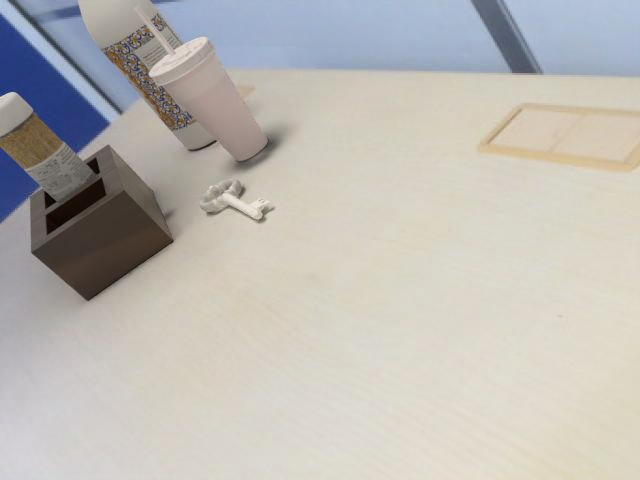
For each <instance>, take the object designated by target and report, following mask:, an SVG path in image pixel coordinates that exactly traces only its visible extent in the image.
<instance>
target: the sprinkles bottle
mask: <svg viewBox="0 0 640 480" xmlns="http://www.w3.org/2000/svg"><path fill="white" fill-rule="evenodd" d="M0 149H2V150H3V152H5V153H6V154H7V155H8V156H9V157H10V158H11V159H12V160H13V161H14V162H15V163H17V165H19V166H20V167H21V169H23V171H24V172H25V173H26V174H27V175H29V177H31V178H32V179H33V180H34V181H35V182H36V184H38V185H39V186H40V187H41V189H42V188H43V189H44V190H45V191H46V192H47V193H48V194H49V195H50V196H51V197H52V198H54V199H55V200H56V201H59V200H60V199H62V198H63V197H65V196H66V195H68V194H69V193H71V192H72V191H74V190H75V189H77V188H78V187H80V186H81V185H83V184H84V183H86V182H87V181H89V180H90V179H92V178H93V177H95V176H96V174H95V173H94V172H93V170H92V169H91V168H90V167H89V166H88V165H87V164H86V163H85V162H84V159H82V158H81V157H80V156H79V155H78V154H77V153H76V151H74V150H73V149H72V148H71V147H70V146H69V145H68V144H67V143H66V142H65V141H63V140H62V139H61V138H60V137H59V136H58V135H57V134H56V133H55V132H54V131H53V130H52V129H51V128H50V127H49V126H48V125H47V124H46V123H45V122H44V121H43V120H42V119H41V118H40V117H39V116H38V114H37V112H34V109H33V107H32V106H31V105H30V104H29V103H28V102H27V101H26V100H25V99H24V98H22V96H21V95H20V94H18V93H17V92H15V91H10V92H8V93H5V94H4V95H0Z"/></svg>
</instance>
